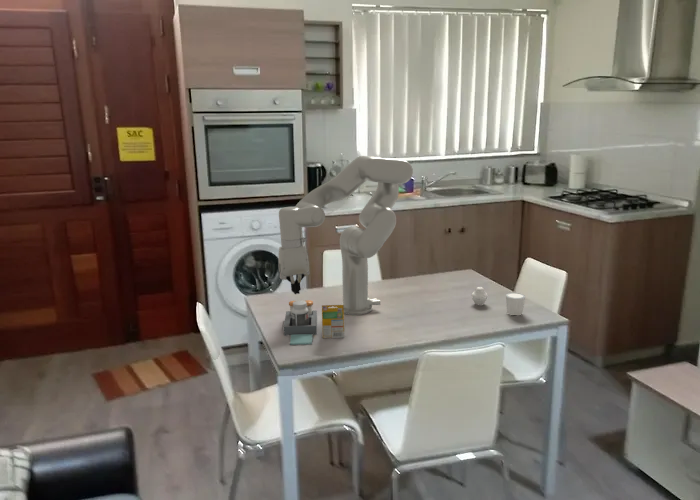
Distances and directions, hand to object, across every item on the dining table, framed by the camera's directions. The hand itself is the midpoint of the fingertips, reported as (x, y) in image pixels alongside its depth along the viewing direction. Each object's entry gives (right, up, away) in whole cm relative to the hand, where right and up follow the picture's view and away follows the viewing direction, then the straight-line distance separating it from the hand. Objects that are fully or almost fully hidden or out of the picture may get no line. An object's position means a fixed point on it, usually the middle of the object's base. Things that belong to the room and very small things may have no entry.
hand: (296, 292), depth 198 cm
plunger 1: (-1, -10, +2) cm, 10 cm away
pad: (+3, -15, -14) cm, 21 cm away
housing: (+2, -12, -3) cm, 12 cm away
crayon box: (+14, -14, -11) cm, 23 cm away
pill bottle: (+2, -13, -5) cm, 14 cm away
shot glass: (+80, -8, +7) cm, 80 cm away
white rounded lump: (+69, -6, +18) cm, 71 cm away
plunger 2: (+4, -10, +2) cm, 11 cm away
